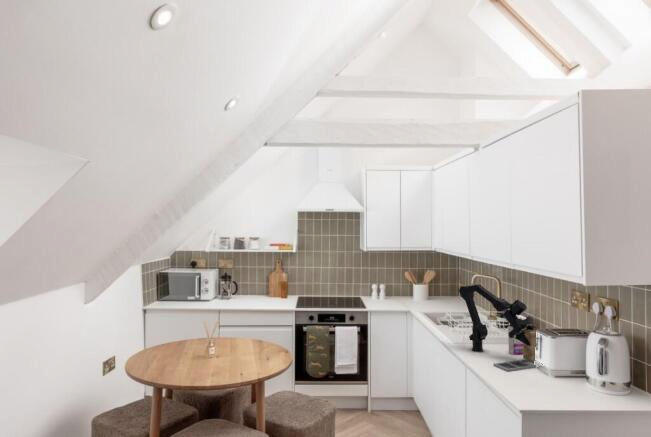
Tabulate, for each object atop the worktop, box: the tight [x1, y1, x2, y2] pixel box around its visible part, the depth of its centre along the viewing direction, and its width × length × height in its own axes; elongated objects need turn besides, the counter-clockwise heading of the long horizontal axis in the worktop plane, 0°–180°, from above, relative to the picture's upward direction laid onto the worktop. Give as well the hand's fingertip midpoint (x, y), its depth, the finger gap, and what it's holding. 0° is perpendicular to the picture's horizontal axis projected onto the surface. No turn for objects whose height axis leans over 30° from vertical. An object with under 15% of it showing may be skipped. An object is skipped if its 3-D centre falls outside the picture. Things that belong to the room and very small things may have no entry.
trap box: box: [493, 359, 536, 373], centre depth 225 cm, size 25×10×2 cm, turn 111°
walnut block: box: [522, 330, 536, 361], centre depth 228 cm, size 5×5×15 cm
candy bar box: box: [507, 325, 528, 356], centre depth 249 cm, size 11×5×16 cm, turn 105°
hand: (532, 344), depth 227 cm, fingers closed on walnut block, 5 cm apart
